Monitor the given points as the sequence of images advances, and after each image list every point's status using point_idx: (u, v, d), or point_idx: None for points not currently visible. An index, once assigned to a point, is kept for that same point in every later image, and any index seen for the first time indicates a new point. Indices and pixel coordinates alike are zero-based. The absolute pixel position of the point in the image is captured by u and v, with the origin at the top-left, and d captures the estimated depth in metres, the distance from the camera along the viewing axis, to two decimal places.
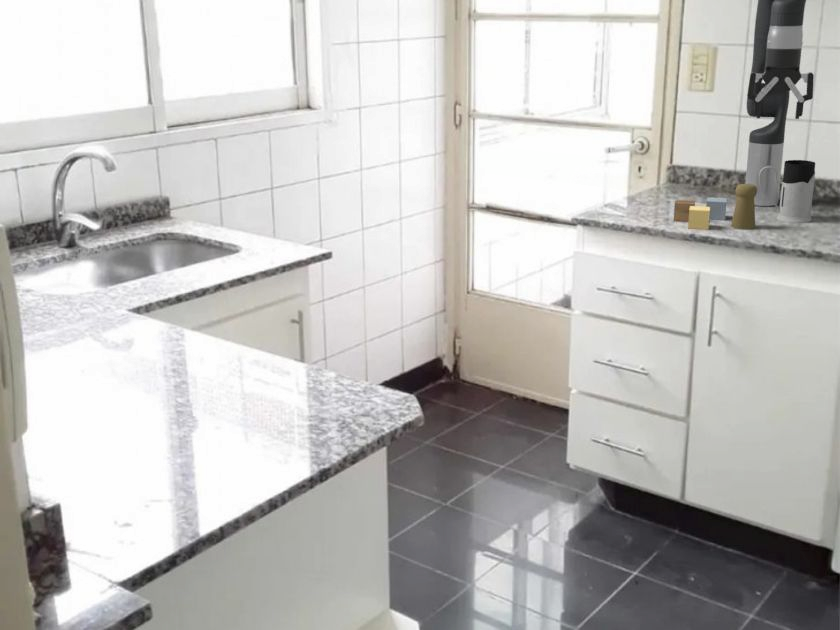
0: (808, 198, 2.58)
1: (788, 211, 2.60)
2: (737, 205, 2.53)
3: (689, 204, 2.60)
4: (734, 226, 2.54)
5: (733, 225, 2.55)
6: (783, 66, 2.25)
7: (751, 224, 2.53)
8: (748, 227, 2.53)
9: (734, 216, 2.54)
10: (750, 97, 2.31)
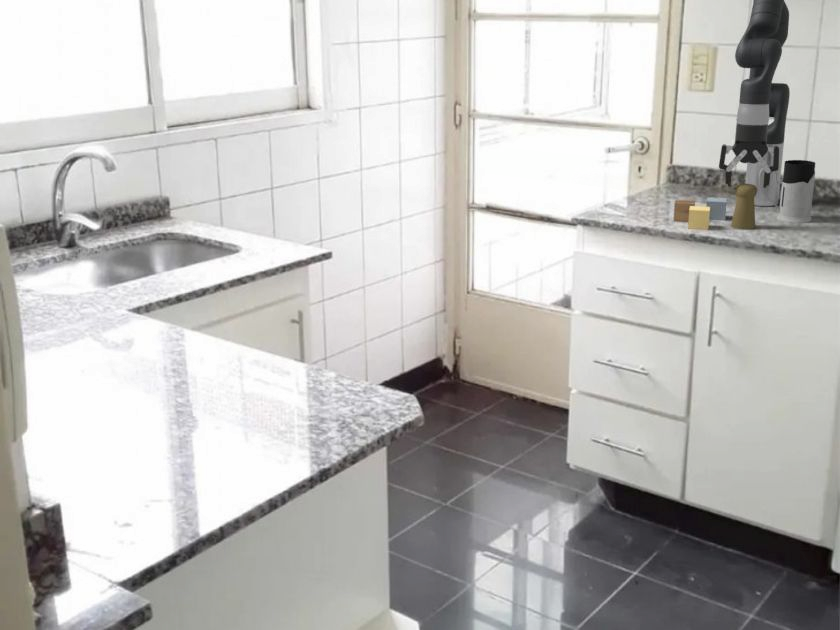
0: (808, 198, 2.58)
1: (788, 211, 2.60)
2: (737, 205, 2.53)
3: (689, 204, 2.60)
4: (734, 226, 2.54)
5: (733, 225, 2.55)
6: (751, 141, 2.45)
7: (751, 224, 2.53)
8: (748, 227, 2.53)
9: (734, 216, 2.54)
10: (721, 167, 2.51)
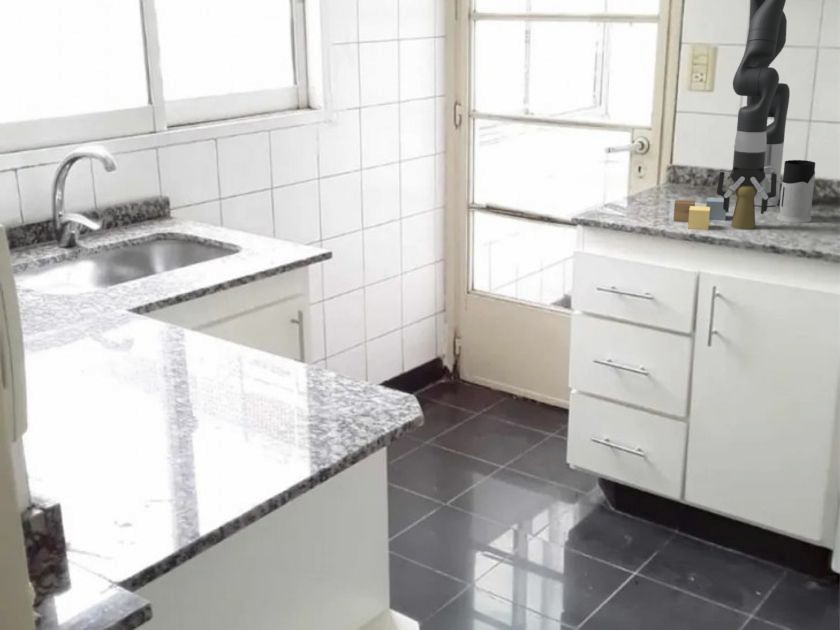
0: (808, 198, 2.58)
1: (788, 211, 2.60)
2: (737, 205, 2.53)
3: (689, 204, 2.60)
4: (734, 226, 2.54)
5: (733, 225, 2.55)
6: (749, 168, 2.47)
7: (751, 224, 2.53)
8: (748, 227, 2.53)
9: (734, 216, 2.54)
10: (719, 193, 2.54)
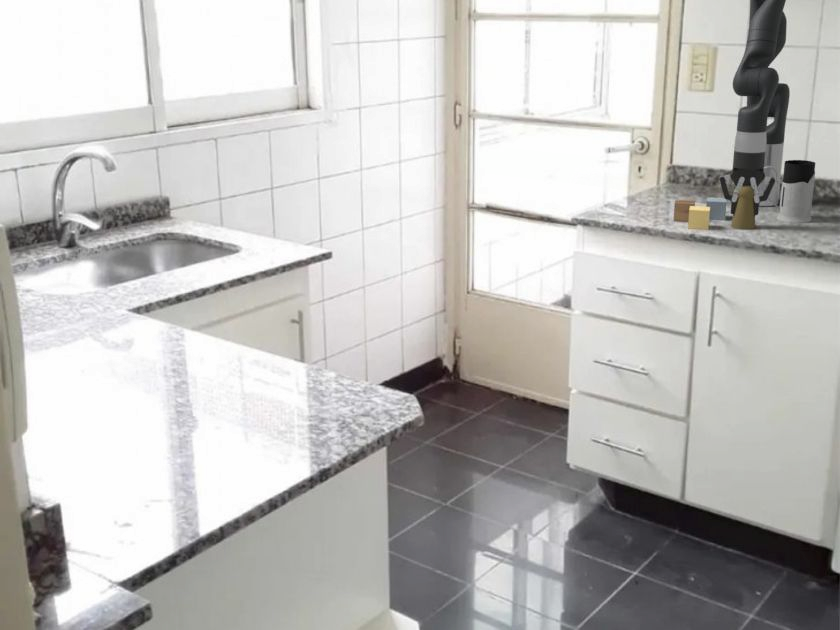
0: (808, 198, 2.58)
1: (788, 211, 2.60)
2: (737, 205, 2.53)
3: (689, 204, 2.60)
4: (734, 226, 2.54)
5: (733, 225, 2.55)
6: (749, 168, 2.47)
7: (751, 224, 2.53)
8: (748, 227, 2.53)
9: (734, 216, 2.54)
10: (727, 198, 2.53)
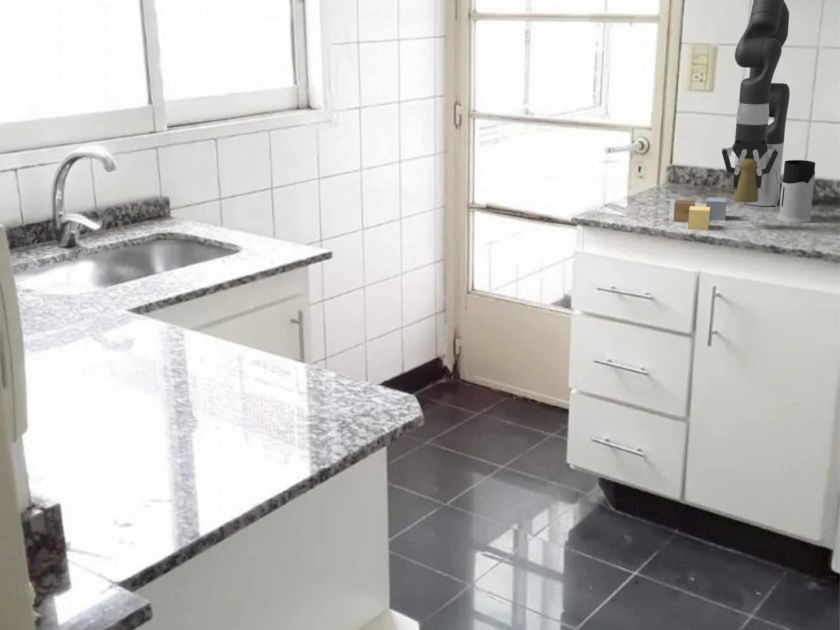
0: (808, 198, 2.58)
1: (788, 211, 2.60)
2: (739, 178, 2.51)
3: (689, 204, 2.60)
4: (736, 199, 2.52)
5: (735, 198, 2.53)
6: (751, 140, 2.45)
7: (754, 197, 2.51)
8: (751, 200, 2.51)
9: (736, 189, 2.52)
10: (729, 171, 2.51)
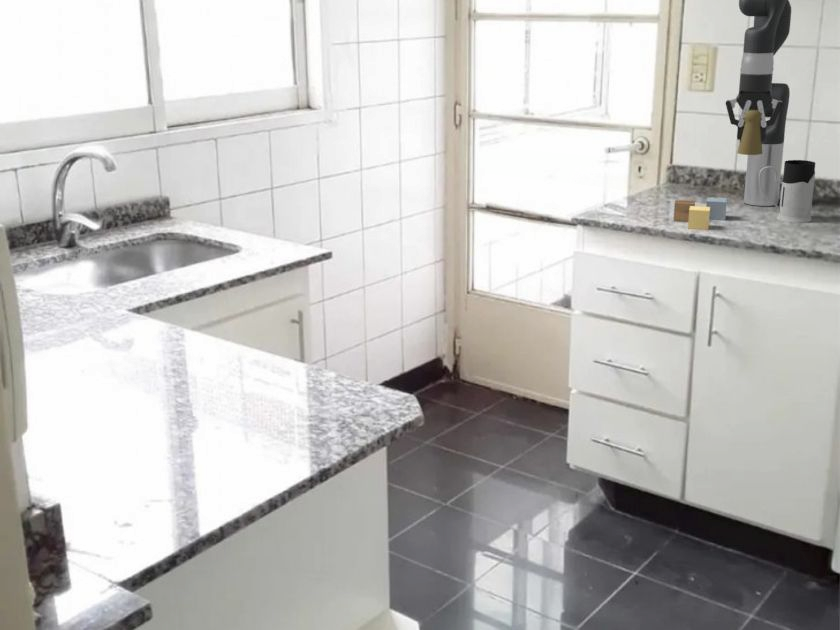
0: (808, 198, 2.58)
1: (788, 211, 2.60)
2: (743, 130, 2.47)
3: (689, 204, 2.60)
4: (740, 152, 2.48)
5: (739, 151, 2.49)
6: (755, 90, 2.41)
7: (758, 149, 2.47)
8: (755, 152, 2.47)
9: (740, 142, 2.48)
10: (733, 122, 2.47)
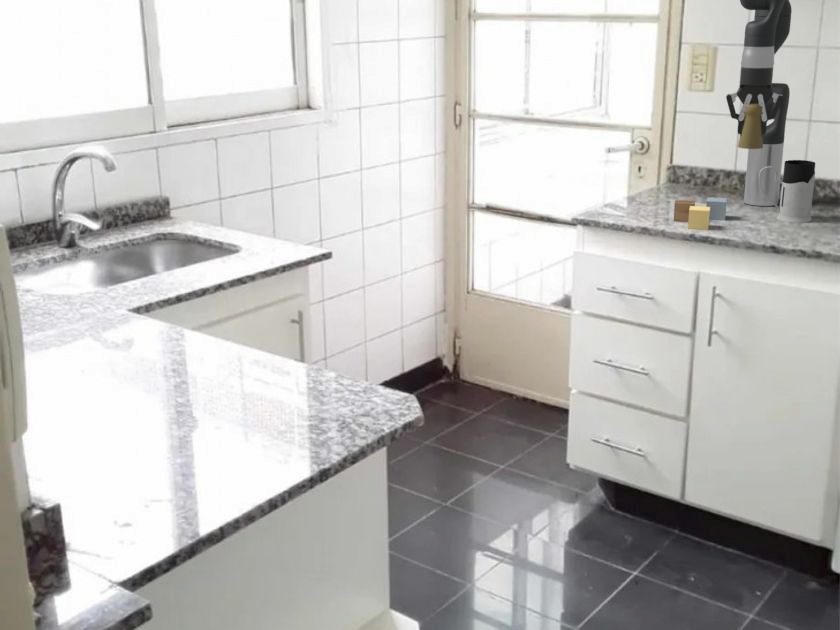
0: (808, 198, 2.58)
1: (788, 211, 2.60)
2: (744, 124, 2.47)
3: (689, 204, 2.60)
4: (741, 146, 2.48)
5: (740, 145, 2.48)
6: (756, 84, 2.41)
7: (759, 143, 2.46)
8: (755, 146, 2.46)
9: (741, 136, 2.48)
10: (734, 116, 2.47)
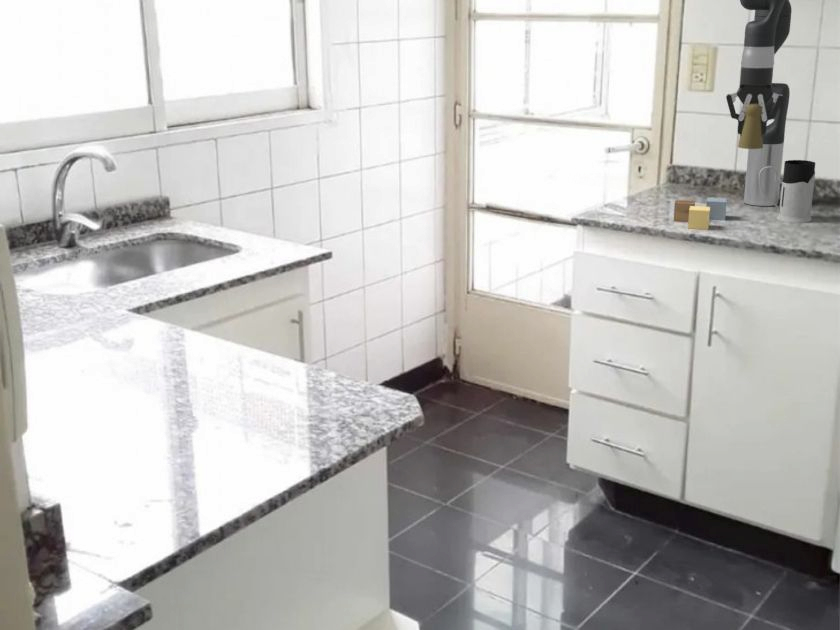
0: (808, 198, 2.58)
1: (788, 211, 2.60)
2: (744, 124, 2.47)
3: (689, 204, 2.60)
4: (741, 146, 2.48)
5: (740, 145, 2.48)
6: (756, 84, 2.41)
7: (759, 143, 2.46)
8: (755, 146, 2.46)
9: (741, 136, 2.48)
10: (734, 116, 2.47)
